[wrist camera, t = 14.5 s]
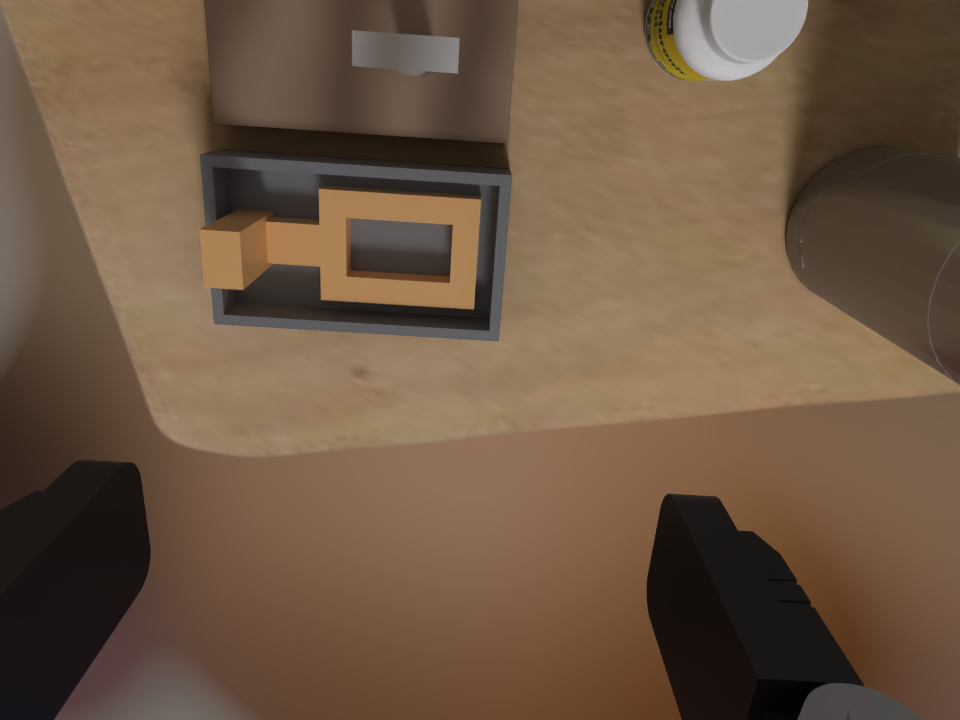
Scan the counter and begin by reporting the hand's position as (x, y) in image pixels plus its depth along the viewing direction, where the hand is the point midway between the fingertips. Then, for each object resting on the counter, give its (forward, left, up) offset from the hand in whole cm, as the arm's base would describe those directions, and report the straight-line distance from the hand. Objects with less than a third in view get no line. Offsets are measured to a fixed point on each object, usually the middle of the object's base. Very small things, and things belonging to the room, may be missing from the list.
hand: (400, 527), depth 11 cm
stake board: (+6, -8, -32) cm, 33 cm away
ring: (+6, +3, -31) cm, 32 cm away
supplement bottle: (-12, -10, -32) cm, 36 cm away
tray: (+6, +3, -32) cm, 33 cm away
